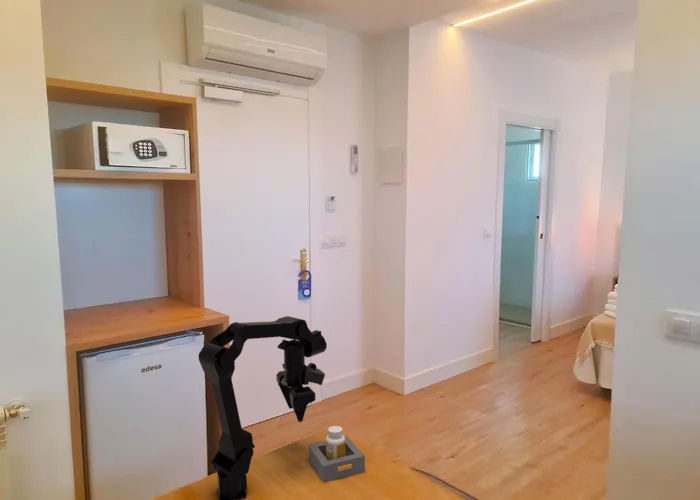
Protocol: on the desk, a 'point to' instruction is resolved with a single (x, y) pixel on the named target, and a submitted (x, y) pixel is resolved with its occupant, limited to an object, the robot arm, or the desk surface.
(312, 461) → the socket block
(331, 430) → the supplement bottle
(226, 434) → the robot arm
